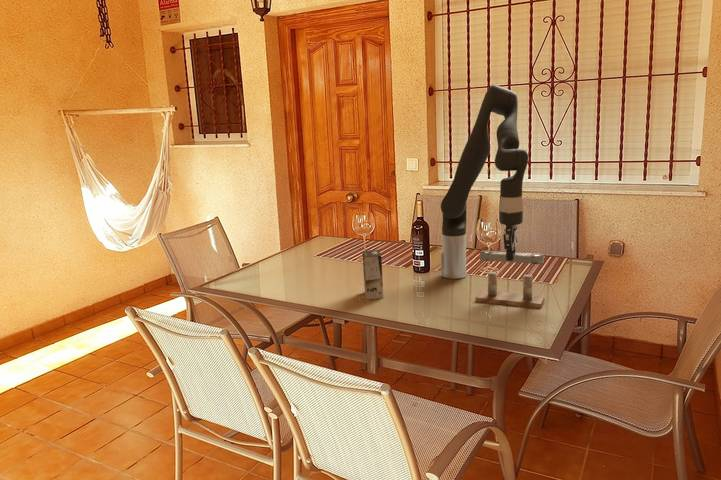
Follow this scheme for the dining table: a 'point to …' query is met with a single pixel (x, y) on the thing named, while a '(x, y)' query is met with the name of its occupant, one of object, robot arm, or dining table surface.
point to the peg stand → (510, 294)
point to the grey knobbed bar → (517, 257)
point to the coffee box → (372, 274)
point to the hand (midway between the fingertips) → (510, 258)
